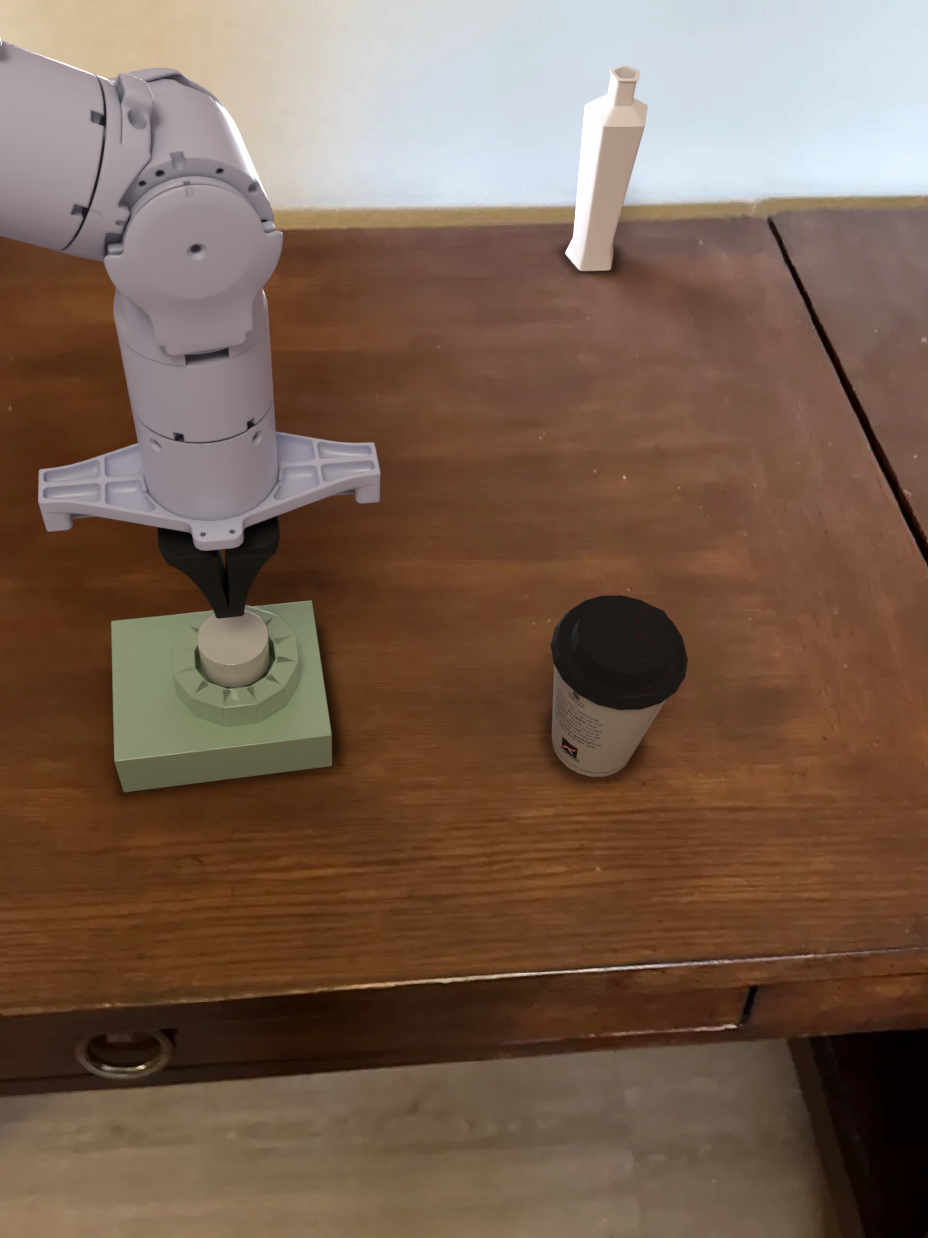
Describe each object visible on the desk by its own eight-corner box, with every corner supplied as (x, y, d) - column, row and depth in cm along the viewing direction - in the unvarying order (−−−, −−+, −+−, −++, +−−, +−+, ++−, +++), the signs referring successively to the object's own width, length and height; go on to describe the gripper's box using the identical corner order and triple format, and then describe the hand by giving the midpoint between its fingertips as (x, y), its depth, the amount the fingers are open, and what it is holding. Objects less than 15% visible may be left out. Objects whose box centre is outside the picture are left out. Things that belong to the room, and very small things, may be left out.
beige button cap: (202, 691, 62) (199, 668, 61) (198, 635, 65) (194, 612, 63) (273, 683, 63) (271, 660, 61) (266, 628, 65) (264, 605, 64)
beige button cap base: (123, 793, 64) (108, 742, 60) (119, 654, 69) (105, 600, 65) (332, 766, 66) (331, 716, 62) (313, 634, 71) (311, 580, 67)
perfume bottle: (551, 262, 94) (581, 77, 82) (574, 234, 97) (606, 50, 85) (605, 283, 93) (643, 98, 81) (627, 254, 96) (667, 70, 84)
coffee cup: (550, 806, 65) (577, 703, 57) (516, 699, 69) (538, 589, 61) (671, 784, 66) (715, 681, 59) (631, 681, 70) (667, 571, 63)
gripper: (12, 481, 46) (76, 684, 56) (394, 449, 48) (386, 650, 59) (17, 356, 50) (76, 568, 60) (368, 333, 52) (365, 541, 63)
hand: (228, 601), depth 60 cm, fingers closed
